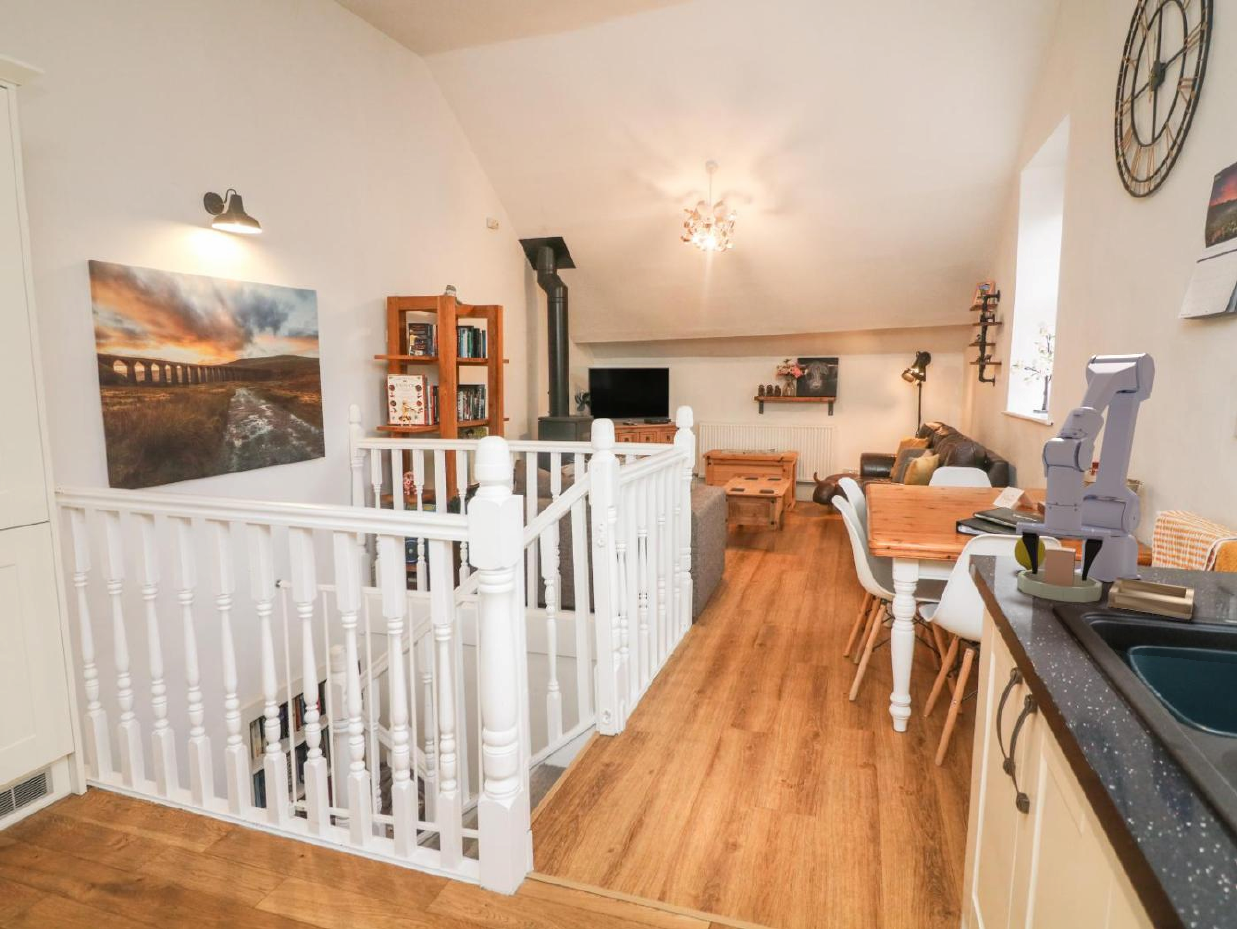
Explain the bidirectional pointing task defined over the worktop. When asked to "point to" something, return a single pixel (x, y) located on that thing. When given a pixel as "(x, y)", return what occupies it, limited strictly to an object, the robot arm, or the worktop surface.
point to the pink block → (1059, 566)
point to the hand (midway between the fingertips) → (1059, 576)
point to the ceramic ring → (1060, 588)
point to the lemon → (1023, 555)
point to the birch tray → (1151, 597)
